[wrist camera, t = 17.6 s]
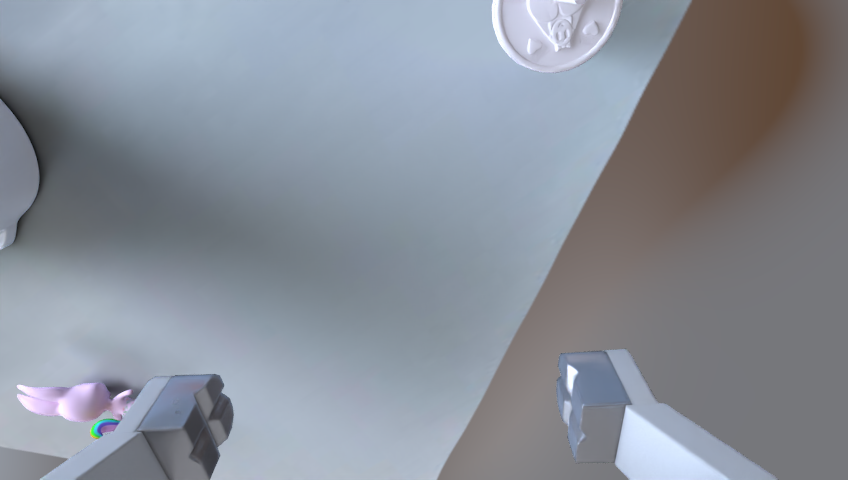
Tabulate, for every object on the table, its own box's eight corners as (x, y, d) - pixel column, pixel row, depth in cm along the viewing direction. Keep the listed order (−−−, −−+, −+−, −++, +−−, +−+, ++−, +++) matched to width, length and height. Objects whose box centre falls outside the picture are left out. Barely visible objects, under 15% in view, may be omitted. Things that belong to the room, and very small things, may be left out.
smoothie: (567, -71, 29) (659, -108, 17) (579, 35, 32) (666, 68, 20) (468, -38, 30) (490, -50, 18) (489, 62, 33) (520, 109, 21)
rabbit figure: (184, 380, 52) (26, 357, 47) (166, 427, 47) (-13, 406, 42) (177, 416, 55) (27, 397, 50) (160, 463, 50) (-9, 447, 45)
